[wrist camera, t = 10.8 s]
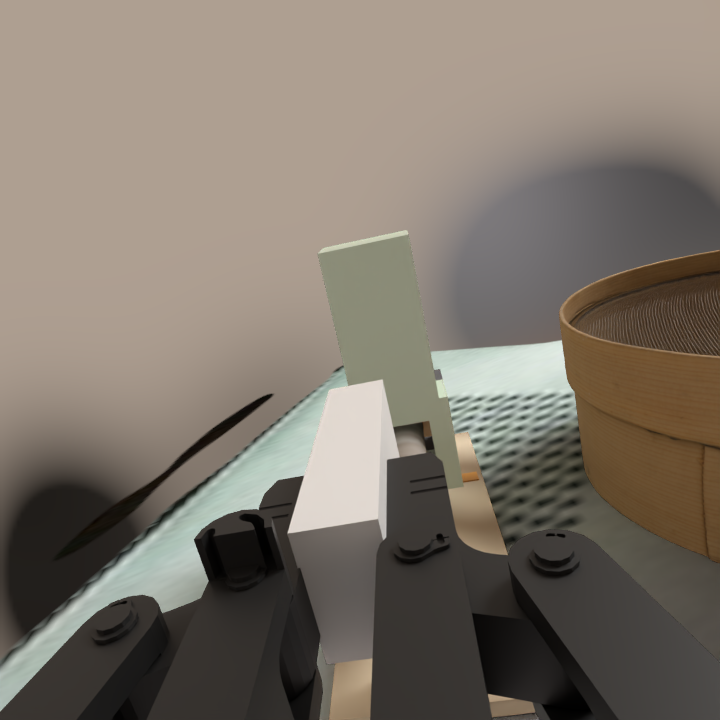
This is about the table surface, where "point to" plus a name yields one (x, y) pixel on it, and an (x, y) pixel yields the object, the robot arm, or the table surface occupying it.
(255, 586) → the robot arm
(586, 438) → the steamer basket
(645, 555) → the table surface
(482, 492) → the pipe stand
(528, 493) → the table surface
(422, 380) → the pale green upright panel
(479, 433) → the table surface
